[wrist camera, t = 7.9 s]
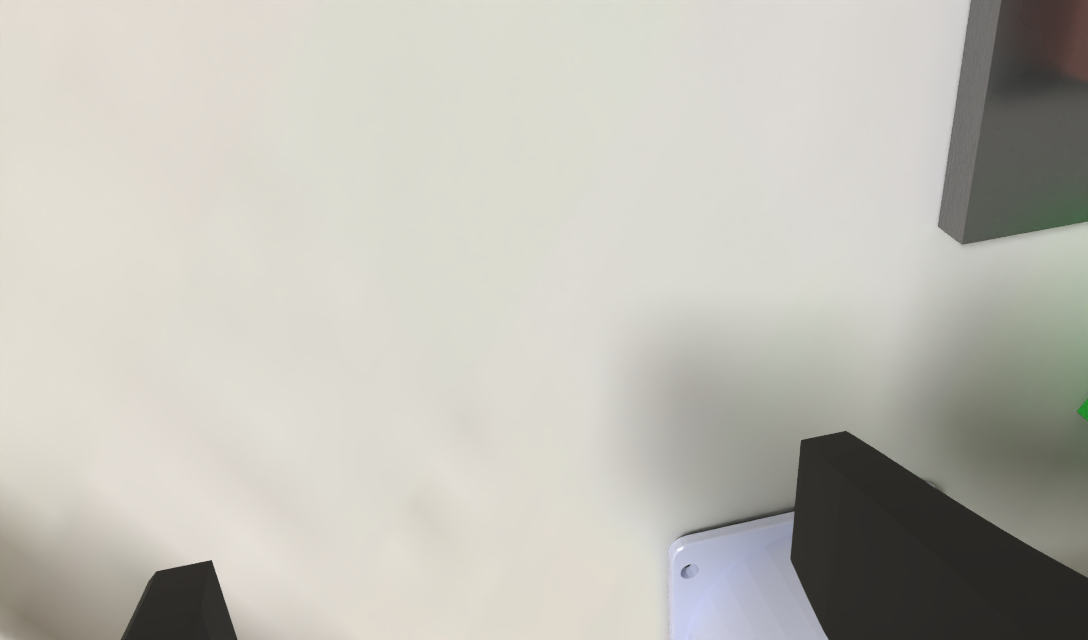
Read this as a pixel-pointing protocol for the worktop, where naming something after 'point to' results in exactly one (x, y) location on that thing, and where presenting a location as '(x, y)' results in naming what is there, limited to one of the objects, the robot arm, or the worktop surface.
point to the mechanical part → (1084, 410)
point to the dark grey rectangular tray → (1019, 121)
